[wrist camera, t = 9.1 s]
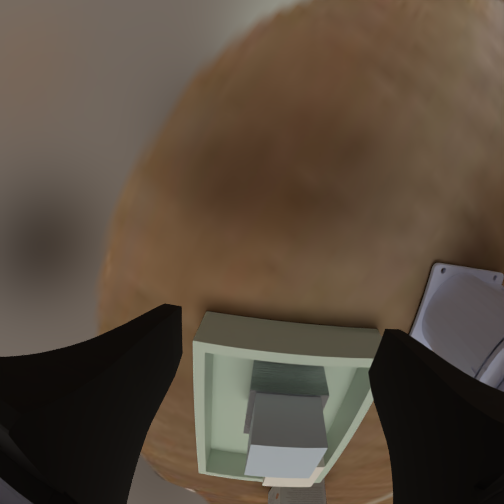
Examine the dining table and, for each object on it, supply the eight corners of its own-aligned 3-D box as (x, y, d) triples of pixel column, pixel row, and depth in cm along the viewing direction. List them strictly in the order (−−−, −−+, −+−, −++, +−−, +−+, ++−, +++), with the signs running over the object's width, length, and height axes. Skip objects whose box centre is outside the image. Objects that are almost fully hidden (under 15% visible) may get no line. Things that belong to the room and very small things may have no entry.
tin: (322, 361, 21) (329, 395, 17) (307, 405, 22) (310, 438, 19) (254, 354, 21) (250, 389, 17) (247, 399, 23) (243, 433, 19)
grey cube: (320, 397, 17) (328, 447, 13) (306, 432, 18) (309, 478, 14) (256, 392, 17) (250, 444, 13) (249, 428, 19) (244, 474, 14)
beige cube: (320, 428, 23) (324, 467, 19) (308, 451, 25) (310, 486, 20) (271, 426, 24) (269, 465, 19) (264, 449, 25) (262, 485, 20)
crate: (377, 328, 20) (393, 358, 16) (318, 457, 26) (320, 482, 22) (206, 311, 21) (192, 340, 17) (205, 447, 27) (198, 472, 23)
